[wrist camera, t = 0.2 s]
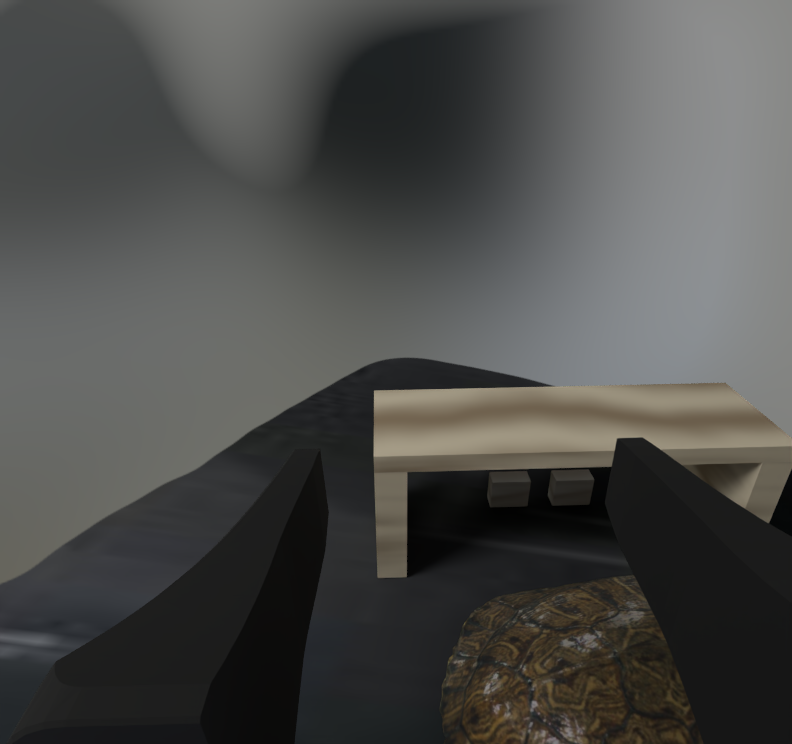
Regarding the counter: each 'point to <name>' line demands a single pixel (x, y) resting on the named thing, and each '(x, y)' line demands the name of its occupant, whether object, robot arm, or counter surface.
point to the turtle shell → (566, 671)
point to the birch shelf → (567, 444)
